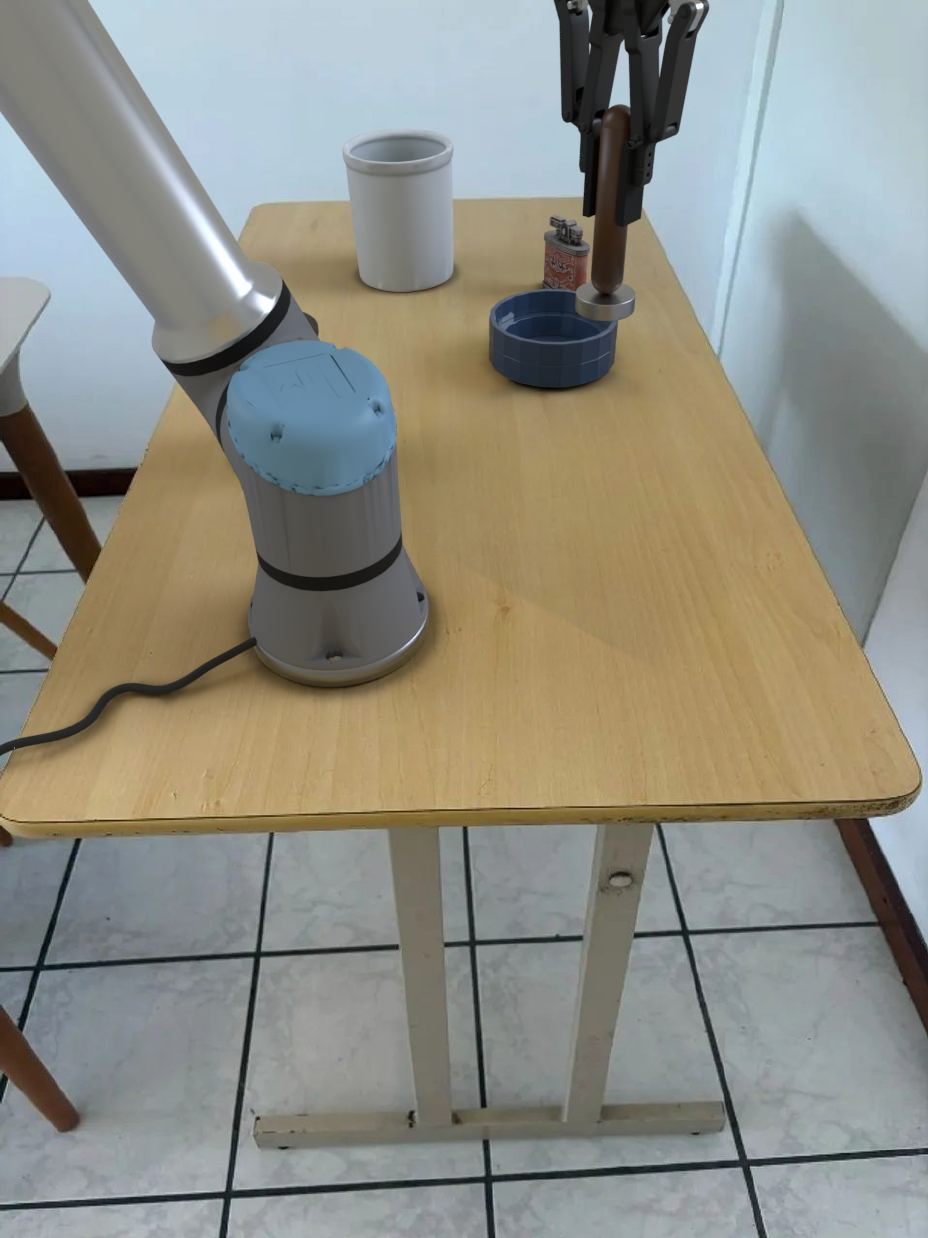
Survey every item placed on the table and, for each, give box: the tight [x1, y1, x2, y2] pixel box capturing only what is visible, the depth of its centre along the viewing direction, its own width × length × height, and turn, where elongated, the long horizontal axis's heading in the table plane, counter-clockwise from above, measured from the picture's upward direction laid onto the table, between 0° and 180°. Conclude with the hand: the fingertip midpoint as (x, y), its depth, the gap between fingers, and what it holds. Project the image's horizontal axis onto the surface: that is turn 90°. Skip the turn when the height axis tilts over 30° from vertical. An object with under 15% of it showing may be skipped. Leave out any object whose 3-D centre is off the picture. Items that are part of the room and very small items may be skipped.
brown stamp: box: [575, 103, 637, 321], centre depth 85 cm, size 6×6×18 cm
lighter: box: [541, 214, 591, 291], centre depth 129 cm, size 8×3×10 cm, turn 34°
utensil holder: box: [341, 128, 454, 293], centre depth 133 cm, size 15×15×18 cm
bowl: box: [488, 288, 619, 388], centre depth 116 cm, size 15×15×6 cm
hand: (611, 216), depth 85 cm, fingers closed on brown stamp, 3 cm apart
